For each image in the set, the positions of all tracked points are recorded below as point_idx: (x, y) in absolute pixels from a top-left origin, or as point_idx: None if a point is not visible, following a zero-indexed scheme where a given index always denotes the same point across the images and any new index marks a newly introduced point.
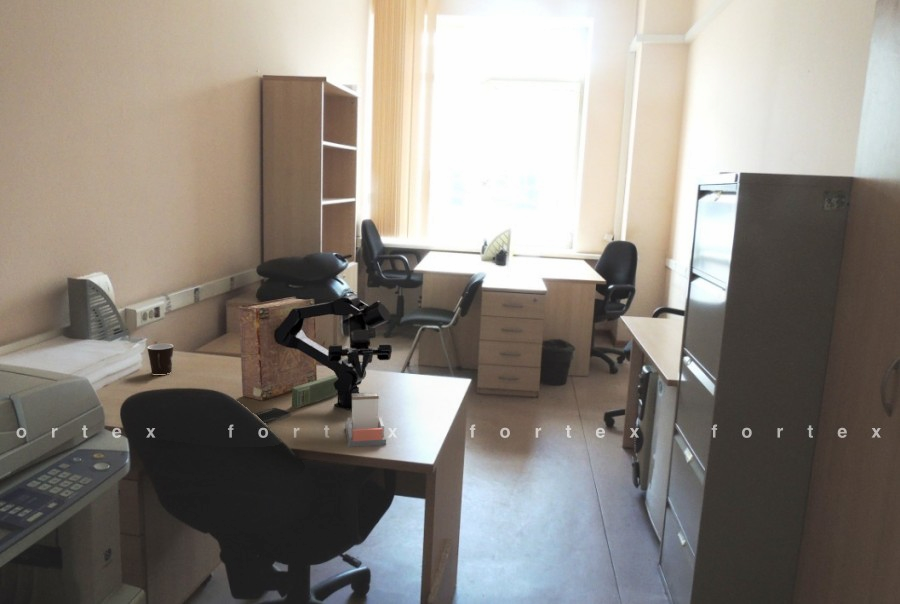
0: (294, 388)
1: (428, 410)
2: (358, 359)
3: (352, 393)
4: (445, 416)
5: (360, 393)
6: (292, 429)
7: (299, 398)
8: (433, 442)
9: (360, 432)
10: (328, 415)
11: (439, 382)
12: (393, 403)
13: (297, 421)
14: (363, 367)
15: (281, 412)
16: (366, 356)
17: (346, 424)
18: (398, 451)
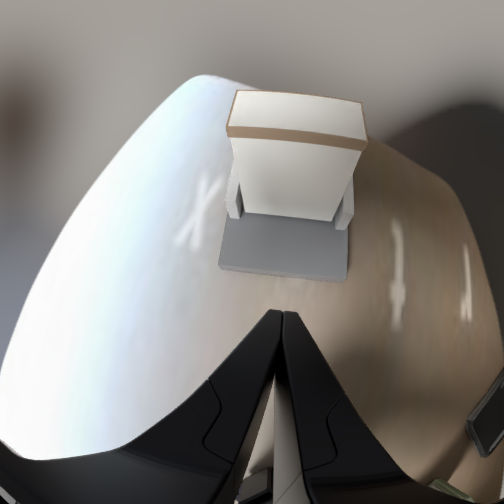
0: (471, 500)
1: (52, 352)
2: (320, 480)
3: (364, 140)
4: (38, 289)
5: (321, 129)
6: (474, 306)
7: (444, 490)
8: (137, 138)
9: None
10: (374, 417)
11: None
12: None
13: (461, 370)
14: (247, 369)
15: (483, 428)
16: (125, 479)
17: (344, 265)
18: (229, 108)
